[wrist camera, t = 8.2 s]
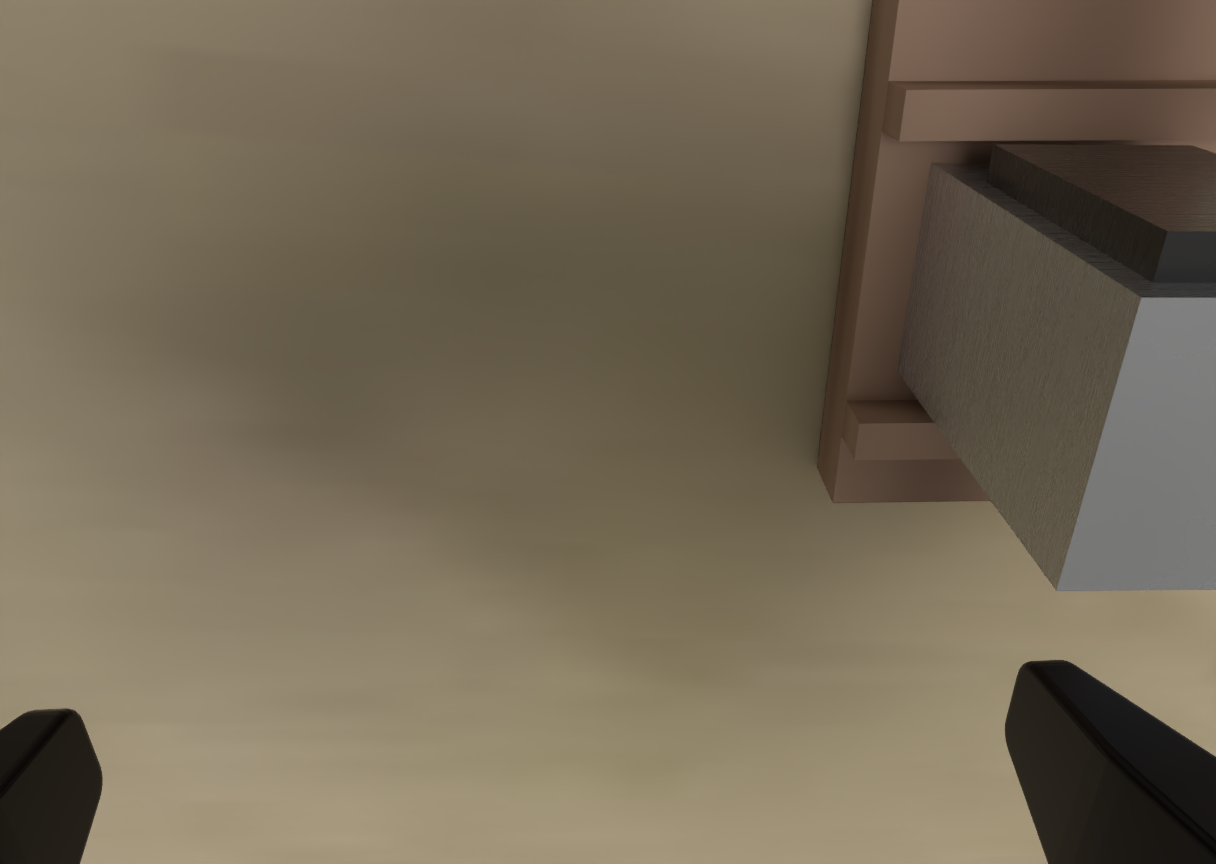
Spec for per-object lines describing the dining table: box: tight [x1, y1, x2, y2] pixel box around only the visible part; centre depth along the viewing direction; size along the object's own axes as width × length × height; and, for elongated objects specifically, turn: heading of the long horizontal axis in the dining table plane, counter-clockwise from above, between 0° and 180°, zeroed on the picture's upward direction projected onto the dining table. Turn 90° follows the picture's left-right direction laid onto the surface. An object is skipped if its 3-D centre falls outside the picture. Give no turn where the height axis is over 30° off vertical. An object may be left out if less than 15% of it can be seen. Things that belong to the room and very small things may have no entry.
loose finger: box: [896, 144, 1216, 591], centre depth 14 cm, size 5×4×7 cm
